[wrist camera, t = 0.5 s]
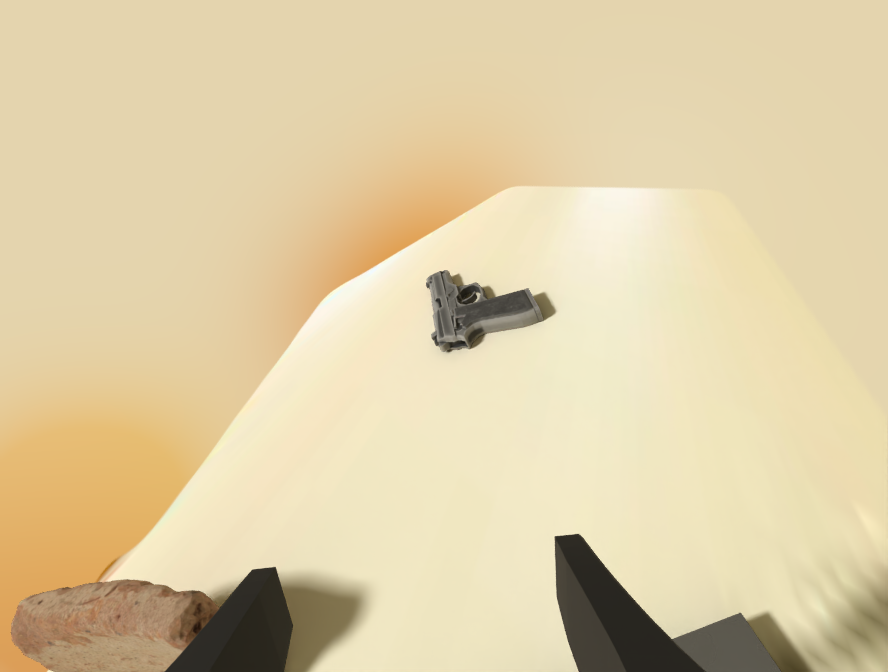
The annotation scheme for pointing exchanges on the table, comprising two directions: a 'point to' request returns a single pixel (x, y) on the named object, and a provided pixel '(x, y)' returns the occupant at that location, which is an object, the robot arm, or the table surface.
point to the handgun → (475, 312)
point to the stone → (110, 626)
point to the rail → (727, 647)
